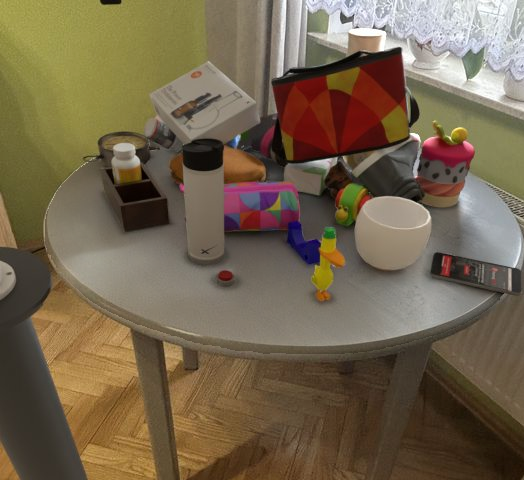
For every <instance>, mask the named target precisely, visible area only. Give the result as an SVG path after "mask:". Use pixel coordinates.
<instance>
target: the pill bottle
mask: <svg viewBox="0 0 524 480" xmlns="http://www.w3.org/2000/svg"><path fill="white" fill-rule="evenodd" d="M143 135H144V136H145V137H147V138H148V140H149V141H151V142H153V143H155V144H157V145H158V146H160V147H162V148H164V149H166V150H171V151H173V152H175V153H178V152H179V151H180V150H182V146H183V145H184V144H183V143H182V142H181V141H180V140H179V138H178V137H177V136H176V135H175V134H174V133H173V132H172V131H171V129H170V128H169V127H168V126H167V125H166V124H165V123H163V122H161V121H159V120H157V119H156V118H155V117H153V116H152V117H150V118H149V119H148V120H147V121H146V123H145V124H144V127H143Z"/></svg>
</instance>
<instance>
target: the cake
mask: <svg viewBox="0 0 524 480" xmlns="http://www.w3.org/2000/svg"><path fill="white" fill-rule="evenodd" d="M432 128H433V132H432V133H433V134H434V135H435V136H432V137H429V138H427V139H426V140H424V141H423V143H422V147H421V153H420V154H419V157H418V161H419V163H418V165H417V168H416V173H417V175H415V176H414V177H415V180H416V181H419V183H420V186H421V187H420V190H421V189H423V190H424V193H425V196H424V197H423V198H422V199H423V200H419V201H418V203H421V204H422V205H425V206H430V207H433V208H449V207H453V206H454V205H456V204H457V203H458V201H459V198H460V195H461V192H462V191H463V190H464V188H465V185H466V177H467V176H468V174H469V170H470V169H471V162H472V161H473V159H474V157H475V154H476V150H475V148H474V146H473V145H472V144H471V143H470V142H468V141H466V140H467V139H468V131H467V129H466V128H464V127H457V128H454V129H453V130H452V132H451V133H450V136H448V135H446V133H445V130H444V128H443V125H441V124H439V121H438V120H434V121H432Z"/></svg>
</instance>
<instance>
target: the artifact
mask: <svg viewBox="0 0 524 480" xmlns="http://www.w3.org/2000/svg"><path fill="white" fill-rule="evenodd" d="M324 183H325V185H326V188H327V189H328V190H330V196H331V197H332V198H333V199H335V200H336V196H337V194H338V192H339V191H340V190H341V189H343V188H345V187H346V186H347V185H349V184H352V183H354V180H353V179H352V177H351V175H350V174H349V172H348V170H347V168H346V166H344V164H343V163H342V161H340V160H339V161H338V160H337V164H336V165H335V166H333V167H331V168H330V170H329V172H328V174H327V176H326V178H325V180H324Z"/></svg>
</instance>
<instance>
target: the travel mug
mask: <svg viewBox="0 0 524 480" xmlns="http://www.w3.org/2000/svg"><path fill="white" fill-rule="evenodd" d="M223 150H224V145H223V142H222V141H220V140H218V139H211V138H203V139H196V140H192V141H191V143H187V144H185V145H184V144H183V146H182V148H181V153H182V157H183V179H184V194H185V195H184V194H183V195H184V209H185V218H186V221H185V223H186V239H187V242H186V243H187V255H188V259H189V260H190V261H191V262H193V263H194V264H197V265H201V266H212V265H216V264H218V263H220V262H221V261H222V260H223V259H224V257H225V232H224V168H223V166H224V163H223Z"/></svg>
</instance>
